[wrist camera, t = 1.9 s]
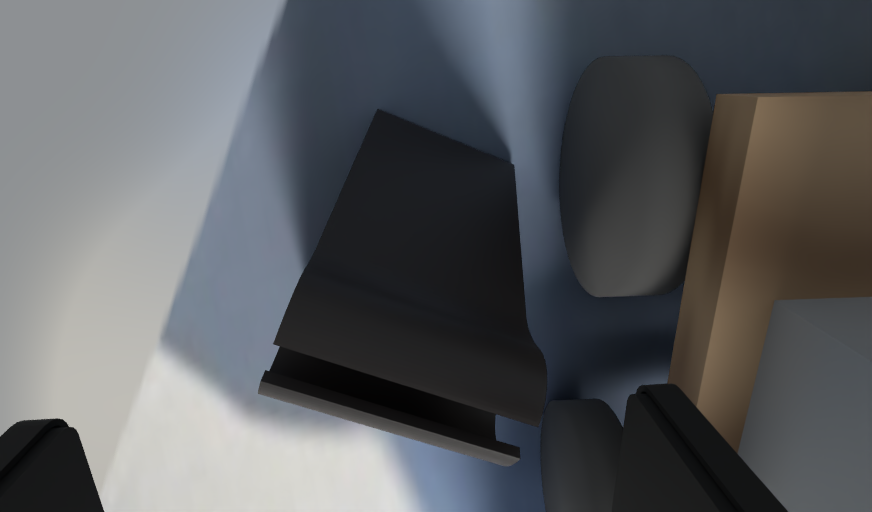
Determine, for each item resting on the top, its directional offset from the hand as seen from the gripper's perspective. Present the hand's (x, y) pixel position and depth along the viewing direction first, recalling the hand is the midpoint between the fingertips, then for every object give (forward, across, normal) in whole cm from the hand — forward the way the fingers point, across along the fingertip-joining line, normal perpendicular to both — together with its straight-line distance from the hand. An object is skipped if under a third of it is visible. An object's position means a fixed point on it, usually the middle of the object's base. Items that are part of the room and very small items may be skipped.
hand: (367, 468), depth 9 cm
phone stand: (+14, -1, 0) cm, 14 cm away
